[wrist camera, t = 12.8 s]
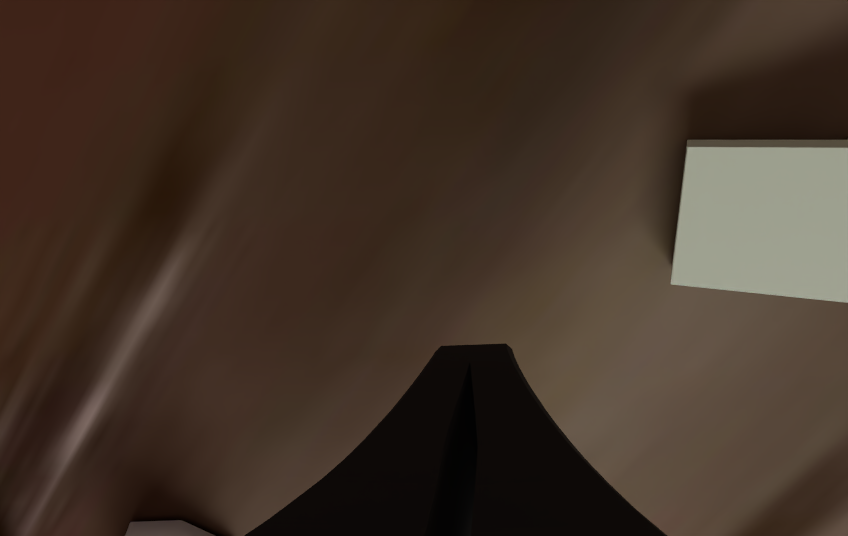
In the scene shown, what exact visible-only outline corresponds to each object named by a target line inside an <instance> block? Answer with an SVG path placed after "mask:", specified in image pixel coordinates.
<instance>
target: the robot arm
mask: <svg viewBox="0 0 848 536" xmlns="http://www.w3.org/2000/svg"><path fill="white" fill-rule="evenodd" d="M245 536H667V535H666V534H664V533H663V532H662V531H661V530H660V529H659V528H657V527H656V526H655V525H654V524H653V523H651V522H650V521H649V520H648V519H647V518H645V517H644V516H643V515H642V514H641V513H640V512H638V511H637V510H636V509H635V508H634V507H633V506H632V505H631V504H630V503H629V502H627V501H626V500H625V499H624V498H623V497H622V496H621V495H620V494H619V493H618V492H617V491H616V490H615V489H614V488H613V487H612V486H611V485H610V484H609V483H608V482H607V481H606V480H605V479H604V478H603V477H602V476H601V475H600V474H599V473H598V472H597V471H596V470H595V469H594V468H593V467H592V466H591V465H590V464H589V462H588V461H587V460H586V459H585V458H584V457H583V456H582V455H581V454H580V452H579V451H578V450H577V449H576V448H575V447H574V445H573V444H572V443H571V442H570V441H569V439H568V438H567V437H566V436H565V434H564V433H563V432H562V431H561V429H560V428H559V427H558V426H557V424H556V423H555V422H554V420H553V419H552V418H551V416H550V415H549V414H548V412H547V411H546V410H545V408H544V407H543V405H542V404H541V402H540V401H539V399H538V398H537V396H536V395H535V393H534V392H533V390H532V389H531V387H530V385H529V384H528V382H527V381H526V379H525V377H524V375H523V373H522V372H521V370H520V368H519V366H518V364H517V362H516V359H515V357H514V354H513V351H512V349H511V348H510V347H509V346H508V345H507V344H484V345H456V346H441V347H440V348H439V349H438V350H437V351H436V352H435V353H434V355H433V356H432V358H431V359H430V361H429V362H428V363H427V365H426V366H425V368H424V369H423V370H422V372H421V373H420V375H419V376H418V377H417V379H416V380H415V381H414V383H413V384H412V385H411V386H410V388H409V389H408V390H407V391H406V393H405V394H404V395H403V396H402V398H401V399H400V400H399V401H398V403H397V404H396V405H395V406H394V407H393V409H392V410H391V411H390V412H389V413H388V414H387V416H386V417H385V418H384V419H383V420H382V421H381V422H380V423H379V424H378V425H377V426H376V427H375V429H374V430H373V431H372V432H371V433H370V434H369V435H368V436H367V437H366V438H365V439H364V440H363V441H362V442H361V443H360V444H359V445H358V446H357V447H356V448H355V449H354V450H353V451H352V452H351V453H350V454H349V455H348V456H347V457H346V458H345V459H344V460H343V461H342V462H341V463H340V464H338V465H337V466H336V467H335V468H334V469H333V470H332V471H330V472H329V473H328V474H327V475H326V476H325V477H323V478H322V479H321V480H320V481H319V482H317V483H316V484H315V485H313V486H312V487H311V488H309V489H308V490H307V491H306V492H304V493H303V494H302V495H300V496H299V497H298V498H296V499H295V500H294V501H292V502H291V503H290V504H288V505H287V506H286V507H284V508H283V509H282V510H280V511H279V512H278V513H276V514H275V515H274V516H272V517H271V518H270V519H268V520H267V521H265V522H264V523H263V524H261V525H260V526H258V527H257V528H255V529H254V530H252V531H251V532H249V533H248V534H246V535H245Z"/></svg>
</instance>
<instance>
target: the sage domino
mask: <svg viewBox="0 0 848 536" xmlns="http://www.w3.org/2000/svg"><path fill="white" fill-rule="evenodd" d="M671 284H674V285H683V286H693V287H702V288H712V289H722V290H731V291H741V292H750V293H760V294H770V295H779V296H789V297H798V298H808V299H818V300H827V301H837V302H846V303H848V140H687V146H686V154H685V162H684V170H683V179H682V187H681V195H680V203H679V212H678V220H677V228H676V236H675V245H674V253H673V261H672V271H671Z"/></svg>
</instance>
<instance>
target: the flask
mask: <svg viewBox="0 0 848 536" xmlns="http://www.w3.org/2000/svg"><path fill="white" fill-rule="evenodd" d="M125 536H215V535H213V534H210V533H208V532H206V531H204V530H202V529H200V528H197V527H195V526H193V525H191V524H189V523H187V522H184V521H182V520H171V521H142V522H130V524H129V527H128V529H127V532H126V534H125Z"/></svg>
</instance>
